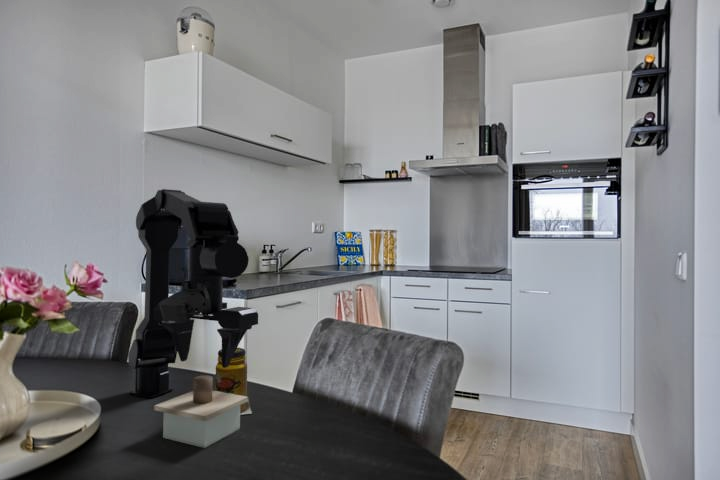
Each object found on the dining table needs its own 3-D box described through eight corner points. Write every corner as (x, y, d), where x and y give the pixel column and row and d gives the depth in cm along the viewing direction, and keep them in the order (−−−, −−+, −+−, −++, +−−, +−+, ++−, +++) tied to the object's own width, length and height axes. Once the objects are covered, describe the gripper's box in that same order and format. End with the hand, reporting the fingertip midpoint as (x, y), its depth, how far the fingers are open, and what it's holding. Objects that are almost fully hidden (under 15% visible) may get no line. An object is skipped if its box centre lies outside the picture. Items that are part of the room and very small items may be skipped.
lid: (154, 410, 83) (154, 381, 83) (200, 392, 93) (200, 366, 93) (205, 421, 78) (206, 391, 78) (247, 401, 88) (248, 374, 88)
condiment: (212, 418, 92) (213, 354, 92) (212, 403, 101) (213, 345, 101) (251, 414, 95) (253, 352, 95) (248, 400, 103) (249, 343, 103)
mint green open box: (163, 439, 83) (163, 409, 83) (200, 421, 91) (201, 394, 91) (204, 449, 79) (205, 418, 79) (239, 430, 87) (240, 402, 87)
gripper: (128, 274, 82) (126, 368, 82) (217, 279, 74) (215, 383, 74) (178, 271, 92) (176, 354, 92) (260, 275, 84) (259, 366, 84)
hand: (204, 364), depth 85 cm, fingers open, 9 cm apart
